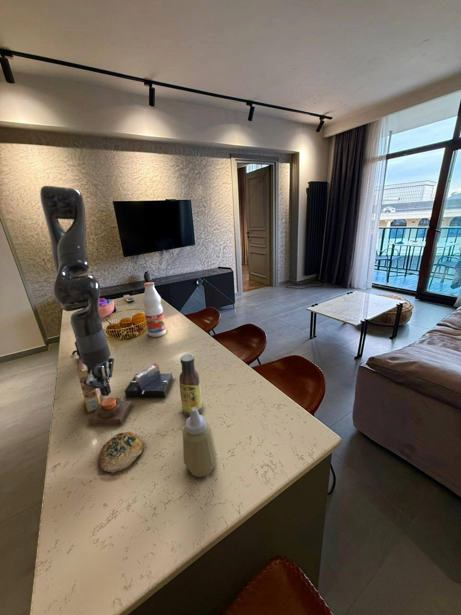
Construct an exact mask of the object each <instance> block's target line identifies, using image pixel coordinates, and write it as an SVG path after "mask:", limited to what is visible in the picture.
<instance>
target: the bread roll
mask: <svg viewBox="0 0 461 615" xmlns="http://www.w3.org/2000/svg"><path fill="white" fill-rule="evenodd" d="M143 450H144V444H143V441H142V439H141V438H140V437H139V435H137V433H134V432H131V431H125V432H124V431H122V432H119V433H117V434H115V435H114V436H112V437H111V438H110V439H109V440H107V441H106V442H105V444H103V446H102V448H101V449H100V452H99V457H98V458H99V459H98V463H99V467H100V468H101V469H102V471H104V472H105V473H106V472H107V473H112V474H114V473H115V472H119V471H121V470H124V469H127V468H128V467H130V466H131V465H132V464H133V462H134V461H135V460H136V459H137V457H138V456H139V455H141V454H142V452H143Z"/></svg>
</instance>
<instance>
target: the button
mask: <svg viewBox="0 0 461 615" xmlns="http://www.w3.org/2000/svg"><path fill="white" fill-rule="evenodd" d="M115 398H116V397H113V396H111V397H107V398H105V399H103V400H102V401H103V402H102V401H101V402H102V407H103V410H110V409H113V408H114V407H115V406H116V404H117V403H116V400H115Z"/></svg>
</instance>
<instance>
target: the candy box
mask: <svg viewBox="0 0 461 615" xmlns="http://www.w3.org/2000/svg"><path fill="white" fill-rule="evenodd" d="M76 372H77V377H78V380H79V384H80V389H81V391H82V395H83V400H84V402H85V406H86V411H87V412H94V411H95V410H96V409H97V407H98V406H99V405H100V403H101V402H102V395H101V392H100V389H99V388H96V389H94V388H92V387H89V386H87V385H85V384H84V380H87V379H88V376H89V374H88V373H87V366H86V365H84V364H83V363H82V360H80V359H79V360H78V367H77V371H76Z"/></svg>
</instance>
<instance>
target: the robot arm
mask: <svg viewBox="0 0 461 615" xmlns="http://www.w3.org/2000/svg"><path fill="white" fill-rule="evenodd" d="M39 195H40V196H39V197H40V204H41V208H42V212H43V215H44V219H45V223H46V227H47V231H48V235H49V240H50V247H51V248H50V249H51V256H52V261H53V266H54V270H55V275H56V277H55V280H54V282H53V289H52V290H53V296H54V298H55V300H56V301H57V303H59V304H60V306H61V308H62V309H63V310H64V312H73V313H71V315H70V325H71V328H72V332H73V335H74V337H75V341H74V346H75V350H73V351H72V353H71V355H72V356H75V354H76V355H77V356H78V359H79V360H82V363H83V364H84V365H86V366H87V373H88V374H89V376H88V379H87V380H84V384H85V385H87V386H89V387H92V388H94V389H96V388H99V389H100V392H101V397H102V396H103V397H108V396H109V395H110V394H111V392H112V391H111V385H110V378H112V377H113V372H114V363H115V358H114V357H111V351H110V347H109V343H108V339H107V335H106V332H105V330H104V326H103V323H102V318H100V314H99V298H101V297H100V296H101V285H100V282H99V280H98V279H97V278H96V277H95V276H94V275H91V274H87V275H86V273H88V271H89V270H90V263H89V258H88V252H87V243H86V242H87V241H86V235H87V234H86V233H87V226H86V225H87V224H86V206H85V200H84V196H83V194H82V192H81V191H80V190H79V189H76V188H71V187H64V186H55V185H43V186H41V187H40V192H39ZM59 220H71V221H72V223H71V225H70V226H69V227H68V229H67V230H65V229H64V228H63V226H62V224H61V223H60V221H59Z"/></svg>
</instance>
